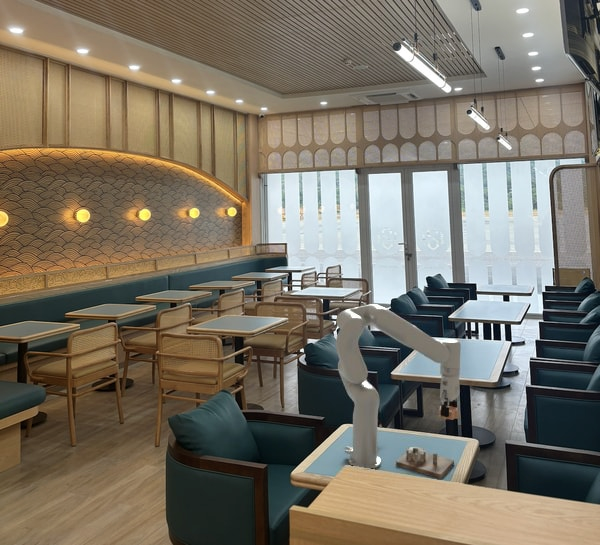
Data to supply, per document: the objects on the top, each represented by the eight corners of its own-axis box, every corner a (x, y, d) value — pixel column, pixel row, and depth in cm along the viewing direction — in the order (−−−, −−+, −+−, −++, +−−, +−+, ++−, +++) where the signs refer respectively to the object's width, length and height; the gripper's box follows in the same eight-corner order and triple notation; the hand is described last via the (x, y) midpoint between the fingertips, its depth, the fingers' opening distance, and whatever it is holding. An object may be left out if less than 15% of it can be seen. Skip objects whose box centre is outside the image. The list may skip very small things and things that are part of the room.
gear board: (396, 465, 203) (396, 449, 203) (410, 452, 215) (411, 437, 214) (440, 478, 193) (441, 462, 192) (454, 463, 204) (454, 448, 203)
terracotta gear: (436, 417, 210) (436, 409, 210) (442, 411, 216) (443, 404, 216) (454, 421, 206) (454, 413, 206) (460, 415, 212) (460, 408, 212)
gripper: (451, 377, 200) (449, 422, 202) (466, 367, 214) (464, 409, 216) (432, 374, 204) (431, 417, 206) (448, 364, 218) (447, 405, 220)
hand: (448, 413), depth 211 cm, fingers closed on terracotta gear, 7 cm apart
